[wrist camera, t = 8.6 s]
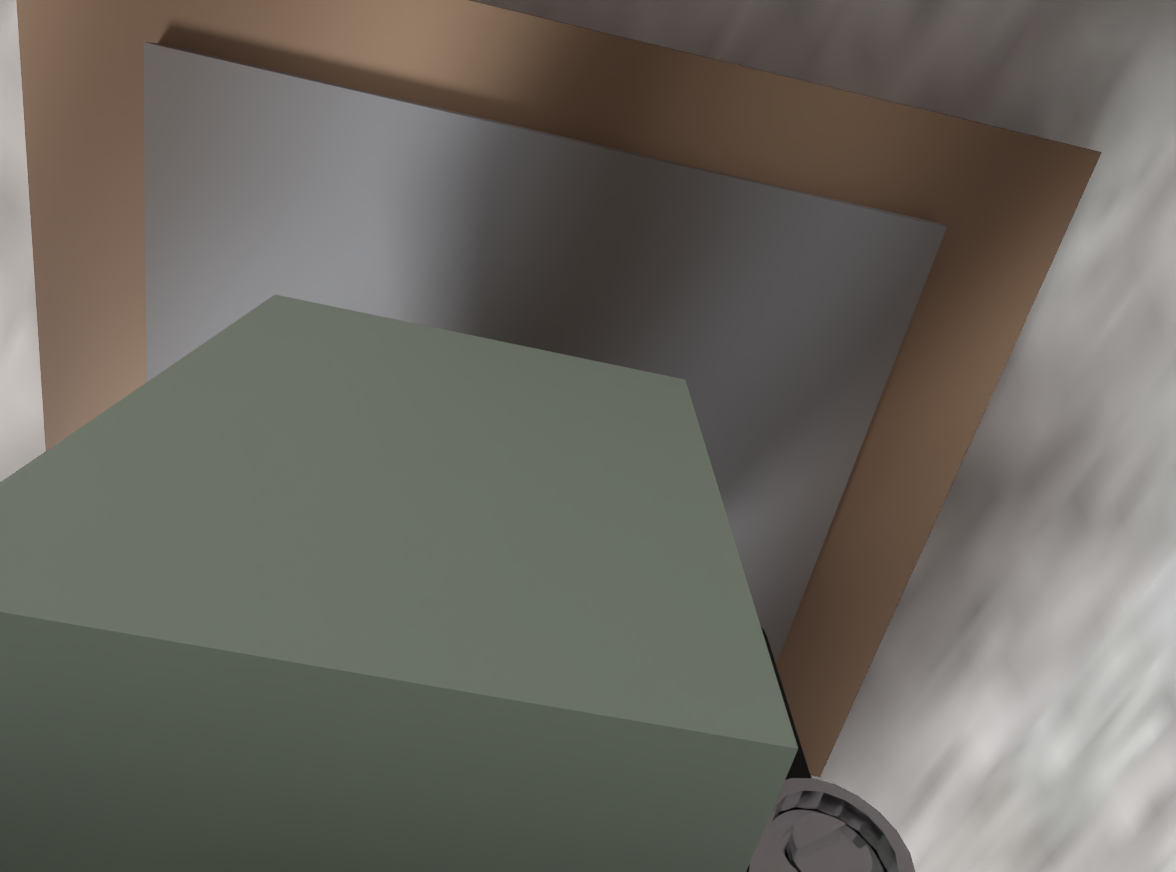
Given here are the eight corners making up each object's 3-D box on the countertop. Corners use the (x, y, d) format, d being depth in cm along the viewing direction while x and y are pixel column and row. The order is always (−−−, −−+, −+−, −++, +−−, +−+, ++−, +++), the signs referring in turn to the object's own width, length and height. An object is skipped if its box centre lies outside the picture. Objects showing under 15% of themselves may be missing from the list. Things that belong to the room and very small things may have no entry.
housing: (685, 379, 10) (804, 769, 4) (582, 742, 12) (574, 1298, 7) (275, 295, 10) (-177, 602, 4) (250, 686, 12) (-53, 1227, 6)
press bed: (1048, 143, 14) (1116, 154, 12) (803, 722, 19) (824, 791, 17) (78, -89, 13) (-11, -117, 11) (103, 593, 18) (45, 653, 16)
